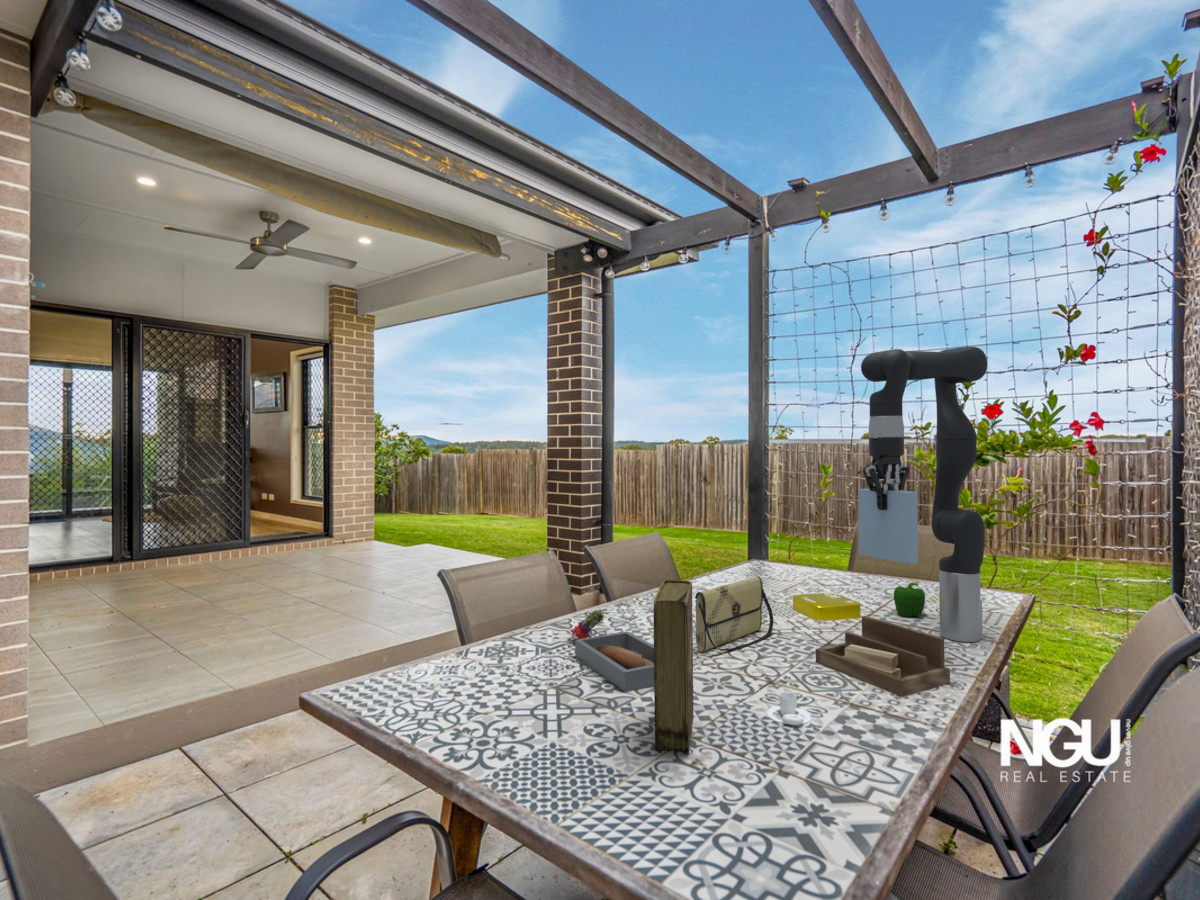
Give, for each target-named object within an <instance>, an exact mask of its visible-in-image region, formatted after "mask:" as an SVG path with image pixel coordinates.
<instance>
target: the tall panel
mask: <svg viewBox="0 0 1200 900" xmlns="http://www.w3.org/2000/svg"><path fill="white" fill-rule="evenodd" d="M857 490H858V497H857V498H858V555H859V556H864V557H869V558H870V557H871V558H874V559H875V558H877V559H881V560H888V561H892V562H898V563H902V564H903V563H904V564H908V565H913V564H914V565H915V564H918V563H919V525H918V523H919V522H918V521H919V519H918V517H919V516H918V514H919V509H918V498H919V497H918V491H907V490H900V491H892V490H887V493H886V494H887V510H879V509H878V508H877V494H876V493H875V492H874V491H870V489H869V488H858V489H857Z"/></svg>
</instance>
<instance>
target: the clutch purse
mask: <svg viewBox="0 0 1200 900" xmlns="http://www.w3.org/2000/svg"><path fill="white" fill-rule="evenodd" d="M763 584H764V582H763V581H762V578H761V577H760V576H759V575H756V576H752V577H749V578H746V579H745V578H744V579H742V580H739V581H735V582H730V583H728V584H724V585H720V586H717V587H713V588H709V589H706V590H702V591H698V592H696V594H695V596H694V599H695V601H694V602H695V640H696V648H697V651H698V652H699V653H701V654H703V653H704V652H706V651H709V650H711V649H713V648H715V649H717V650H719V651H724V652H728V651H729V652H730V651H736V650H738V649H742V648H745V647H750V646H752V645H754V643H755V644H758V643H759V641H760V642H762V641H763V640H766V638H768V637H769V636H771V634H772V632H773V626H774V614H773V611H772V608H771V605H770V603H769V602H770V601H769V600H768V598H767V595H766V592H765V590H764V588H763V587H764V586H763ZM763 601H764V604H765V607H766V608H767V611H768V615H769V617H768V618H769V625H768V629H767V632H766V634H764V635H763V636H761V637H760V638H758V639H756V640H753V641H752V642H748V643H745V644H742V645H738V646H734V647H730V648H729V647H728V648H720V647H719V646H721V645H723V644H724V645H725V644H726V643H729V642H732V641H735V640H737V639H739V638H742V637H745V636H747V635H749V634H751V633H754V632H759V631H760V630H761V627H762V620H763V618H762V616H763V615H762V613H763V612H762V611H763V609H762V607H763Z"/></svg>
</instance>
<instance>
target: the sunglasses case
mask: <svg viewBox="0 0 1200 900" xmlns="http://www.w3.org/2000/svg"><path fill="white" fill-rule="evenodd" d="M596 650H597V651H599V652H600V653H602V654H604V655H605V656H607V657H608V658H610V659H611V660H613V661H614V662H616V663H617V664H619V665H620V666H622V667H624V668H625V669H627V670H628V669H633V668H638V667H643V666H648V665H653V664H654V663H653V662H651V661H649V660H647V659H645V658H643V655H640V654H638V653H637V652H633V651H630V650H627V649H624V648H621V647H616V646H609V645H603V646H599V647H597V649H596Z"/></svg>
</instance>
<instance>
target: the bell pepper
mask: <svg viewBox="0 0 1200 900" xmlns="http://www.w3.org/2000/svg"><path fill="white" fill-rule="evenodd" d="M912 586H916V587H918V586H919V582H917V581H912V582H909V583H908V585H907V586H906V587H903V586H900V585H898V586H897V587H896V588H895V589H894V590H893V602H894V605H895V609H896V612H897V614H898V616H899V615H900V616H901V617H914V618H916V617H917V618H918V617H920V616H921V615H923V611H924V607H925V605H926V593H925V591H924V589H921V588H914V587H912Z"/></svg>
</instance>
